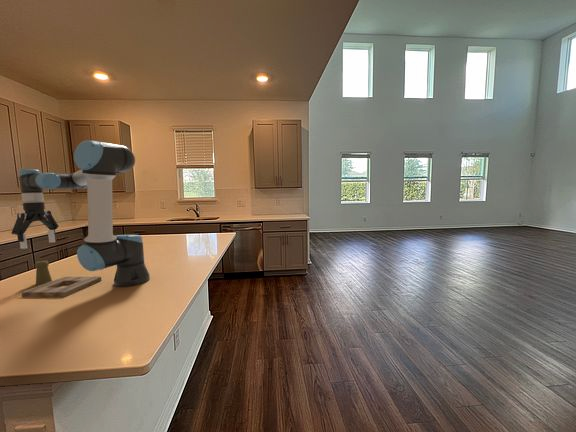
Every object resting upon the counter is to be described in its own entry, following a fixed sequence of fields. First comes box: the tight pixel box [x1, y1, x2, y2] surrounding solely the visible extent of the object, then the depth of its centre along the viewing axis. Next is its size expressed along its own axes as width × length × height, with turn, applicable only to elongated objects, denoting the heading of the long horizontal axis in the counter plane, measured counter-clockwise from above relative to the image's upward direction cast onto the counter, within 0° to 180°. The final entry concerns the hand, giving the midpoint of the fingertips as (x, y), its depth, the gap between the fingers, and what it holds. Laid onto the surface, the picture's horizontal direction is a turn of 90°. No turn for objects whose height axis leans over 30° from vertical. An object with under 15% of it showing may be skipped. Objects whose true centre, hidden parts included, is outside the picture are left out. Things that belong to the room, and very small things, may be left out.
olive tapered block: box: [34, 260, 53, 286], centre depth 131 cm, size 6×6×11 cm
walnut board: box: [21, 276, 103, 298], centre depth 123 cm, size 20×20×2 cm
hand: (38, 245), depth 130 cm, fingers open, 13 cm apart
